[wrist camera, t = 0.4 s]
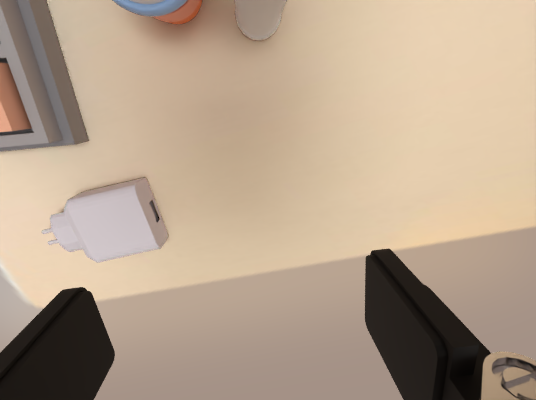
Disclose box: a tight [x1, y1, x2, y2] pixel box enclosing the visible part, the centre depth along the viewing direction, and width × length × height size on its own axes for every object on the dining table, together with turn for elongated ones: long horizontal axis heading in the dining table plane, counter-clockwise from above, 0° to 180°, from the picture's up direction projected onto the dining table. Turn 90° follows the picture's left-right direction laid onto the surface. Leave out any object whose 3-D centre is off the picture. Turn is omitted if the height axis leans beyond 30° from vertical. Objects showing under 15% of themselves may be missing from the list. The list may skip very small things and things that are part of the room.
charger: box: [42, 178, 168, 262], centre depth 38 cm, size 5×9×15 cm
